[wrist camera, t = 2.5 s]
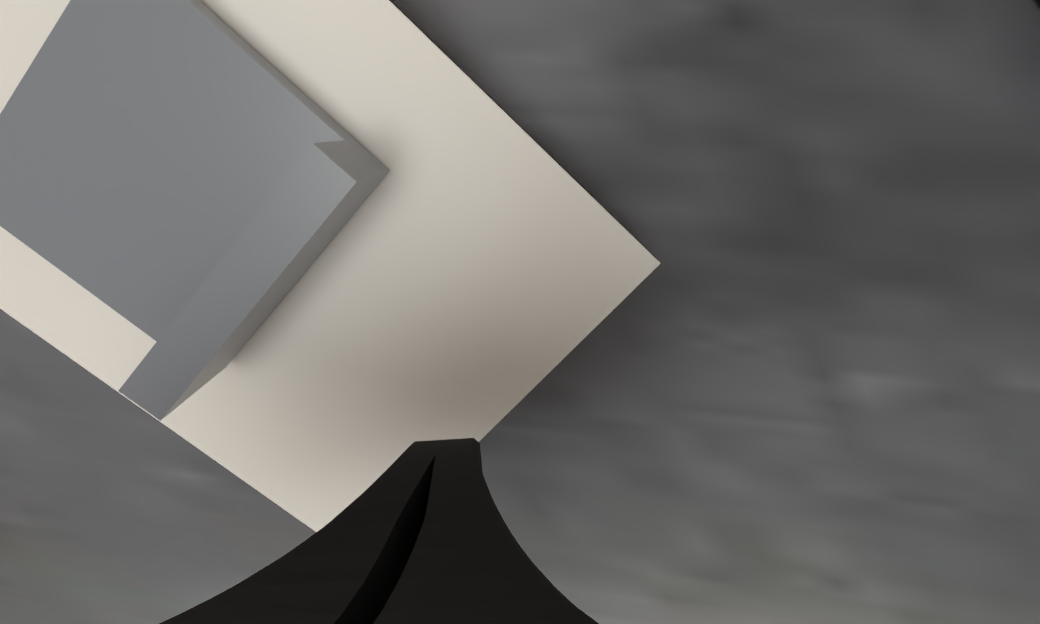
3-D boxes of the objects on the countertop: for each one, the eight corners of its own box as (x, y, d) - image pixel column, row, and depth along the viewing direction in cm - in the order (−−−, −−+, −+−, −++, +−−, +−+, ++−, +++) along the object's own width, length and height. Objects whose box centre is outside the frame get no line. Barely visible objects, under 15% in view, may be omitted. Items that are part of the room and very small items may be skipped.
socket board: (640, 243, 17) (660, 263, 14) (377, 507, 19) (357, 560, 17) (155, -226, 13) (76, -303, 11) (-81, 170, 16) (-185, 177, 14)
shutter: (389, 170, 13) (356, 181, 11) (225, 367, 15) (160, 420, 12) (137, -55, 12) (27, -106, 9) (-15, 187, 13) (-148, 202, 11)
